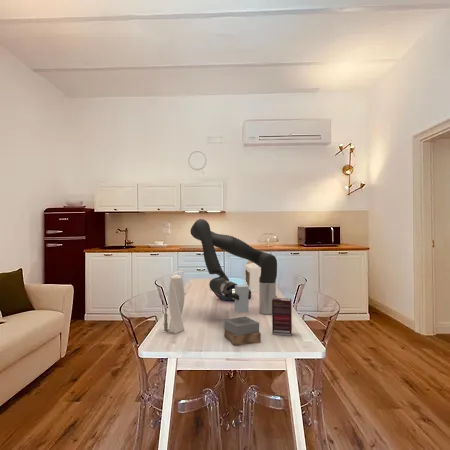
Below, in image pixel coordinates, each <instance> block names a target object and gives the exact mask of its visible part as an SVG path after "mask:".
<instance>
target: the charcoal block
mask: <svg viewBox="0 0 450 450" xmlns="http://www.w3.org/2000/svg"><path fill="white" fill-rule="evenodd" d="M223 321H224V325H223V326H224V327H223V328H224V330H225V329H226V330H227V331H229V332H231V333H233V334H234V335H236V336H240V335H246V334H251V333H257V332H260V322H259V321H257V320H255V319H252V318H250V317H248V316H246V315H245V316H240V317H234V318H227V319H224V320H223Z"/></svg>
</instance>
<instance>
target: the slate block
mask: <svg viewBox="0 0 450 450" xmlns="http://www.w3.org/2000/svg"><path fill="white" fill-rule="evenodd" d="M235 294H238V295H239V300H236V299H235V300H234V311H235V312H236V313H238V314H242V313H249V301H250V300H248V295H249V286H246V285H245V284H237V285H235Z"/></svg>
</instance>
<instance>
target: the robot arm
mask: <svg viewBox="0 0 450 450" xmlns="http://www.w3.org/2000/svg"><path fill="white" fill-rule="evenodd" d="M190 234H191V236H192V237H193V238H194V239H196V240H198V241H200V243H201V245H202V252H203V259H204V262H205V266H206V269H207V272H208V273H209V274H210V275H217V276H218V277H215V278H212V279H210V281H209V284H208V285H209V288H210V290H211V291H212V292H213V293H214V294H221V297H222V298H225V299H228V300H232V301H233V300H234V301H235V299H236V300H239V295H238V294H235V285H238V284H237V283H236V282H234V281H231V280H230V279H229V277H228V275H226V273H225V272H224V270H223V268H222V267H221V263H220V262H219V261H220V260H219V258H218V256H217V252H216V249H215V247H216V248H218V249H220V250H223V251H224V252H226V253H229V254H230V255H233V256H235V257H239V258H241V259H244V260H247V261H248V260H249V261H251V262H253V263H255V264H257V265H258V266H260V267H261V275H260V277H259V292H258V295H259V296H258V297H259V300H258V302H259V303H258V304H259V307H258V310H259V311H258V312H259V314H261V315H272V299H273V298H278V296H277V292H276V291H277V288H276V287H277V284H276V283H277V276H278V260H277V257H276V256H275V255H273V254H271V253H268V252H264V251H261V250H258V249H255V248H253V246H251V245H249V244H248V243H247V242H245V241H243V240H241V239H239V238H237V237H236V236H233V235H228V234H222V233H221V234H220V233H216V232H213V231H212V230H211V227H210V224H209V222H208V221H207V220H206V219H204V218H199V219H196V221H195V222H194V223H193V224H192V226H191V228H190ZM251 299H252V292H251V291H250V290H249V295H248V300H249V301H250V300H251Z"/></svg>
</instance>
